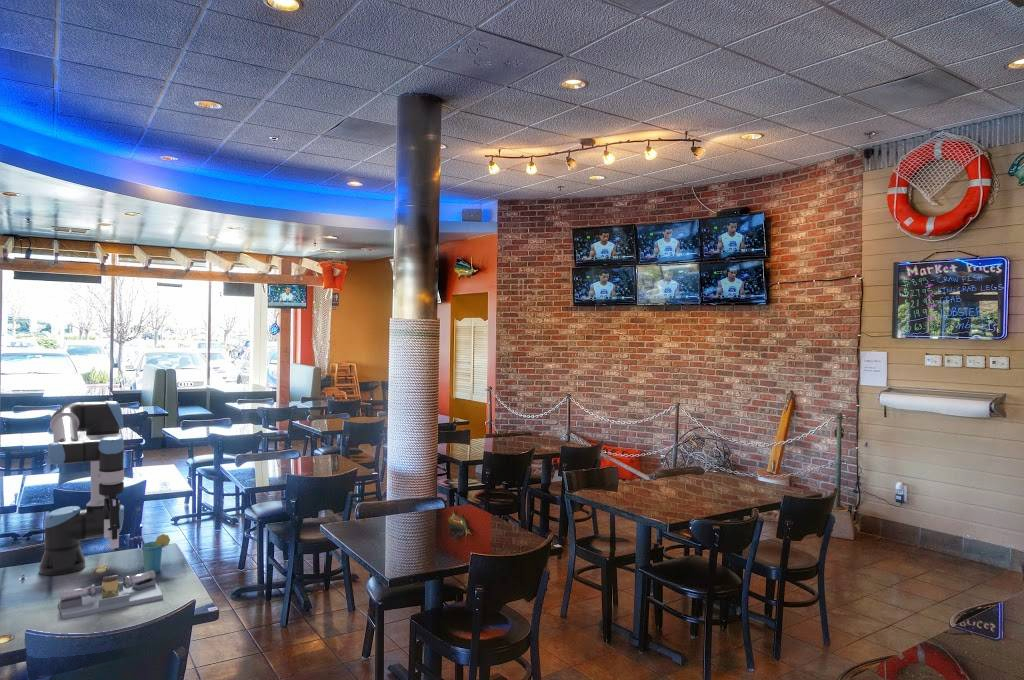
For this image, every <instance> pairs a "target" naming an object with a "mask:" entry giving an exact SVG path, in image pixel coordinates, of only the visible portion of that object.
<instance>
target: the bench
mask: <svg viewBox="0 0 1024 680" xmlns="http://www.w3.org/2000/svg"><path fill="white" fill-rule="evenodd" d="M95 590H96V594H95V597H91V596H86V597H81V598H76V599H71V600H66V601H61V602H60V598H59V599H58V601H57V602H58V608H59V611H60V616H61V620H67V619H71V618H76V617H77V618H78V617H81V616H85V615H87V616H88V615H91V614H96V613H101V612H105V611H110V610H115V609H120V608H124V607H130V606H134V605H140V604H144V603H149V602H154V601H159V600H163V599H164V593H162V591H161V589H160V587H159V585H158V584H157V583H156V586H153V587H150V588H147V589H144V590H141V591H138V590H136V589H134V588H132V587H131V588H128V589H126V588H125V587H124V586H123V581H119V596H114V597H109V598H104V599H102V585H98V586H96V585H95Z"/></svg>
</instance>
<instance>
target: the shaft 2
mask: <svg viewBox="0 0 1024 680" xmlns="http://www.w3.org/2000/svg"><path fill="white" fill-rule="evenodd" d="M156 575H157V573H155V571H154V570H152V571H148V572H145V571H144V572H141V573H139V574H134V575H132V576H130V575H126V576H124V577H122V582H123V587H125V588H126V589H128V588H131V587H132V588H134V589H136V590H138V591H141V590H144V589H147V588H150V587H153V586H156V584H157V583H156V582H157V580H156Z"/></svg>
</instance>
